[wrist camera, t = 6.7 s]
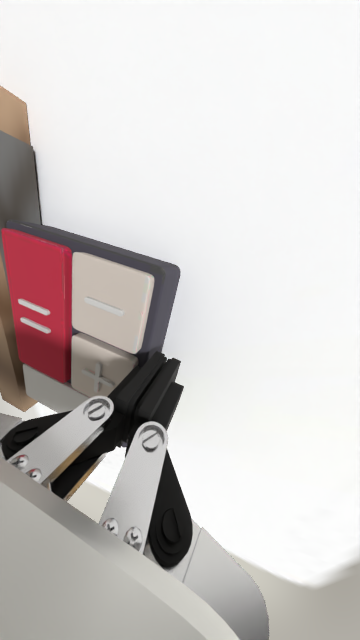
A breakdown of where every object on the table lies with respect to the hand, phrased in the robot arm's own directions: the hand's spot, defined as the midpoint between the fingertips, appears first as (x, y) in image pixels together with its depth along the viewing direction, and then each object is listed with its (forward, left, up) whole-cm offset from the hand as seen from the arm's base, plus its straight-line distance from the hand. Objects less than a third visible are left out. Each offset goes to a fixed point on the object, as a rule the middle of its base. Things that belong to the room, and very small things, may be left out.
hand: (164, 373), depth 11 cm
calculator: (+1, -7, -3) cm, 7 cm away
